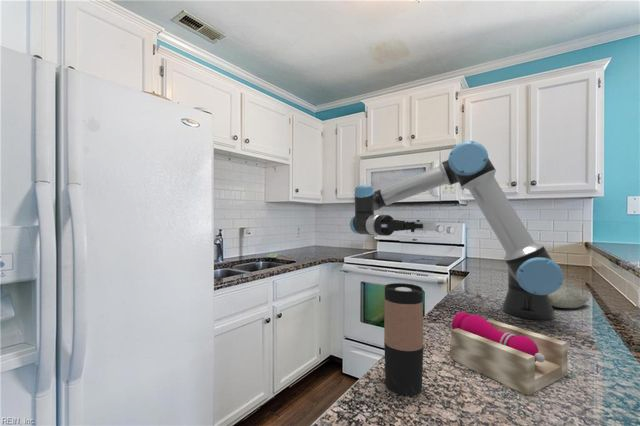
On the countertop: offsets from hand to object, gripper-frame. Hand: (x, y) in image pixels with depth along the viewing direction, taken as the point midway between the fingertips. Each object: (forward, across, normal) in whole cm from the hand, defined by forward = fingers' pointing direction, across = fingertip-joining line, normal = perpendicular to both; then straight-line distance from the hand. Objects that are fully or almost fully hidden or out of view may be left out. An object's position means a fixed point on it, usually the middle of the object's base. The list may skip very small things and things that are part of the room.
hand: (433, 226), depth 91 cm
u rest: (+23, +4, -32) cm, 39 cm away
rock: (+7, -65, -32) cm, 73 cm away
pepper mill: (+11, +4, -25) cm, 28 cm away
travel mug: (+17, +30, -32) cm, 47 cm away
